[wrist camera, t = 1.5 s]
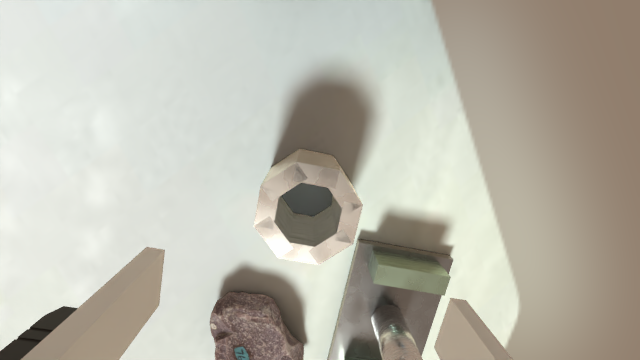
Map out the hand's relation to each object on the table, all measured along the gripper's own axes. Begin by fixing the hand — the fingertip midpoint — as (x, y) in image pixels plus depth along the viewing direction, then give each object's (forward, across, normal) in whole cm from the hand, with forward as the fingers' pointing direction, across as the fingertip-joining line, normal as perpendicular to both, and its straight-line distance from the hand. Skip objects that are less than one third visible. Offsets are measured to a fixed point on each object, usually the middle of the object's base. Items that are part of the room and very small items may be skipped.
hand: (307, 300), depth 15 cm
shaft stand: (+18, +11, -12) cm, 24 cm away
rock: (+18, -2, -17) cm, 25 cm away
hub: (+18, 0, 0) cm, 18 cm away
